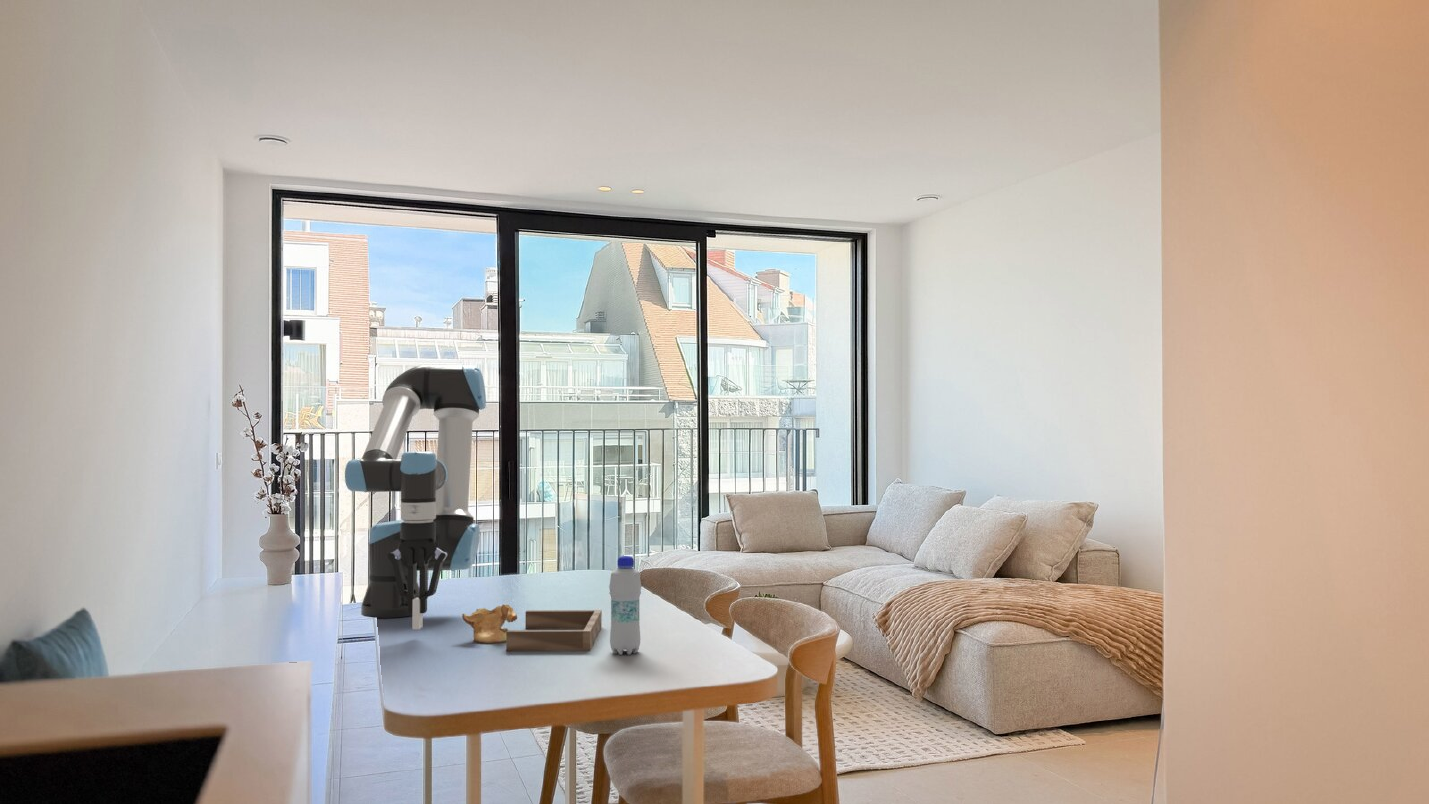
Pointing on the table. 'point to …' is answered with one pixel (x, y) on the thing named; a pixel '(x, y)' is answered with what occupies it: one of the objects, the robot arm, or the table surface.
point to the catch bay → (556, 631)
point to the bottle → (625, 607)
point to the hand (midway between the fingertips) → (417, 627)
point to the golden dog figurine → (490, 624)
